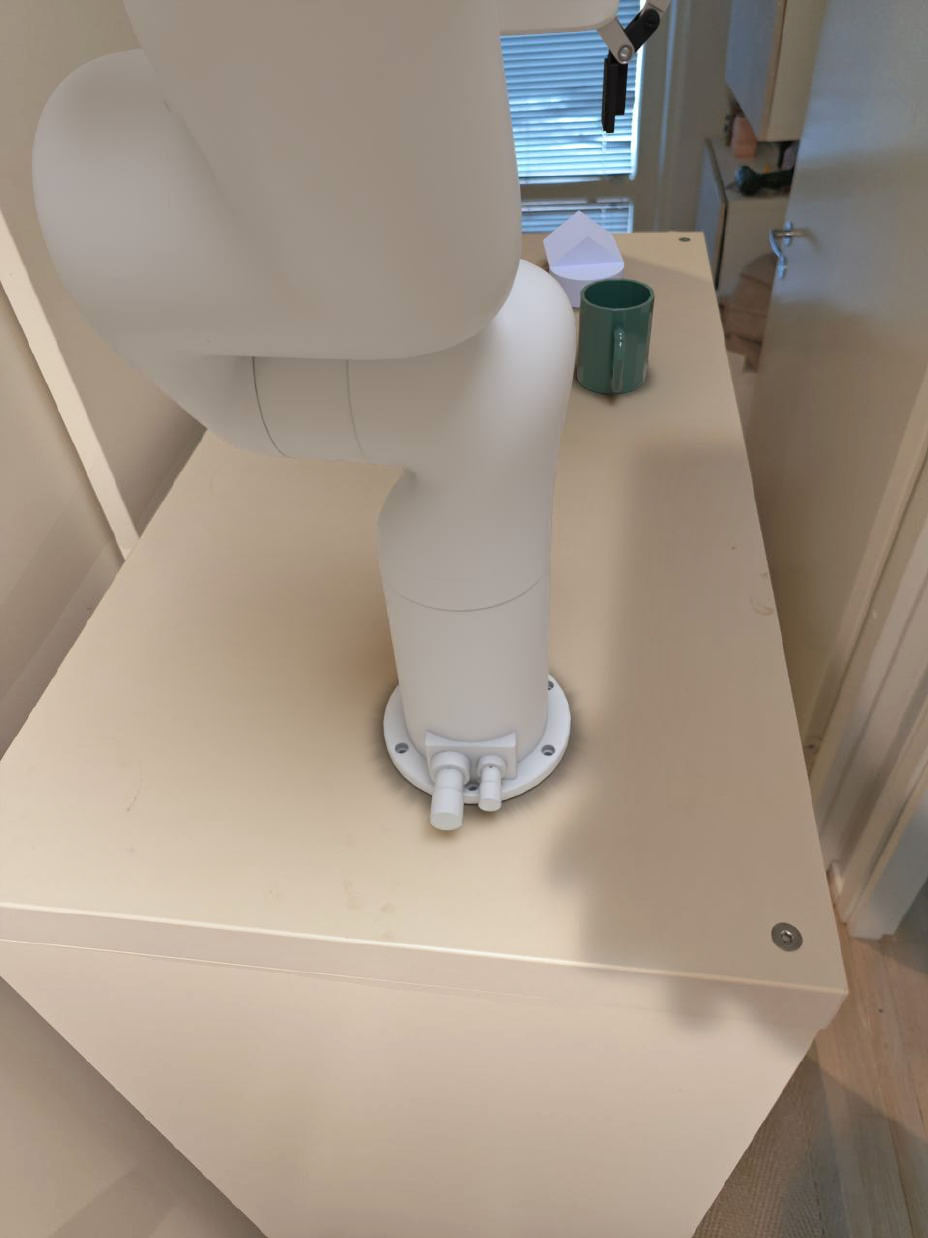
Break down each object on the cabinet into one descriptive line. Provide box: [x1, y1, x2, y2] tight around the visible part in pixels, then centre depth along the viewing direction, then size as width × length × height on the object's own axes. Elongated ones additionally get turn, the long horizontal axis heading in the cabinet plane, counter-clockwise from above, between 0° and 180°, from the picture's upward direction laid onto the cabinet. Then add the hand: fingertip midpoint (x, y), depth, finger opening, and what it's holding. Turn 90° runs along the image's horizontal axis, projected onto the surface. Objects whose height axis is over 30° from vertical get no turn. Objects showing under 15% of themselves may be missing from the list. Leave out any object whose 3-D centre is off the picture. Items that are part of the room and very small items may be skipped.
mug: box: [576, 277, 656, 395], centre depth 86 cm, size 10×7×9 cm
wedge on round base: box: [542, 210, 625, 309], centre depth 104 cm, size 9×7×13 cm
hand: (537, 130), depth 59 cm, fingers open, 9 cm apart
